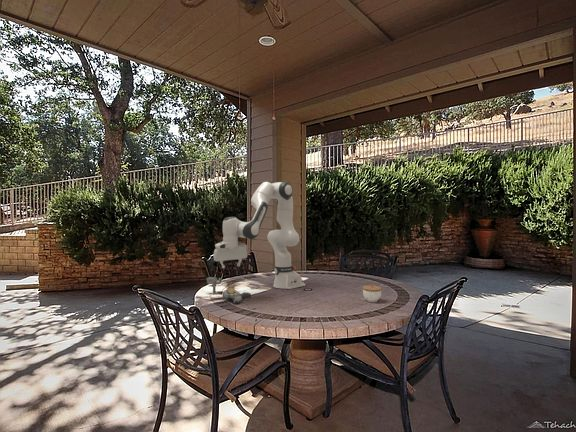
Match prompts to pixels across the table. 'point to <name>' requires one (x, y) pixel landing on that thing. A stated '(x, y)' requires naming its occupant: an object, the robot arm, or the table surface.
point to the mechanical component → (213, 282)
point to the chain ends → (235, 296)
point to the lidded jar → (372, 293)
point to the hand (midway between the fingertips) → (231, 267)
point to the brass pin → (231, 289)
